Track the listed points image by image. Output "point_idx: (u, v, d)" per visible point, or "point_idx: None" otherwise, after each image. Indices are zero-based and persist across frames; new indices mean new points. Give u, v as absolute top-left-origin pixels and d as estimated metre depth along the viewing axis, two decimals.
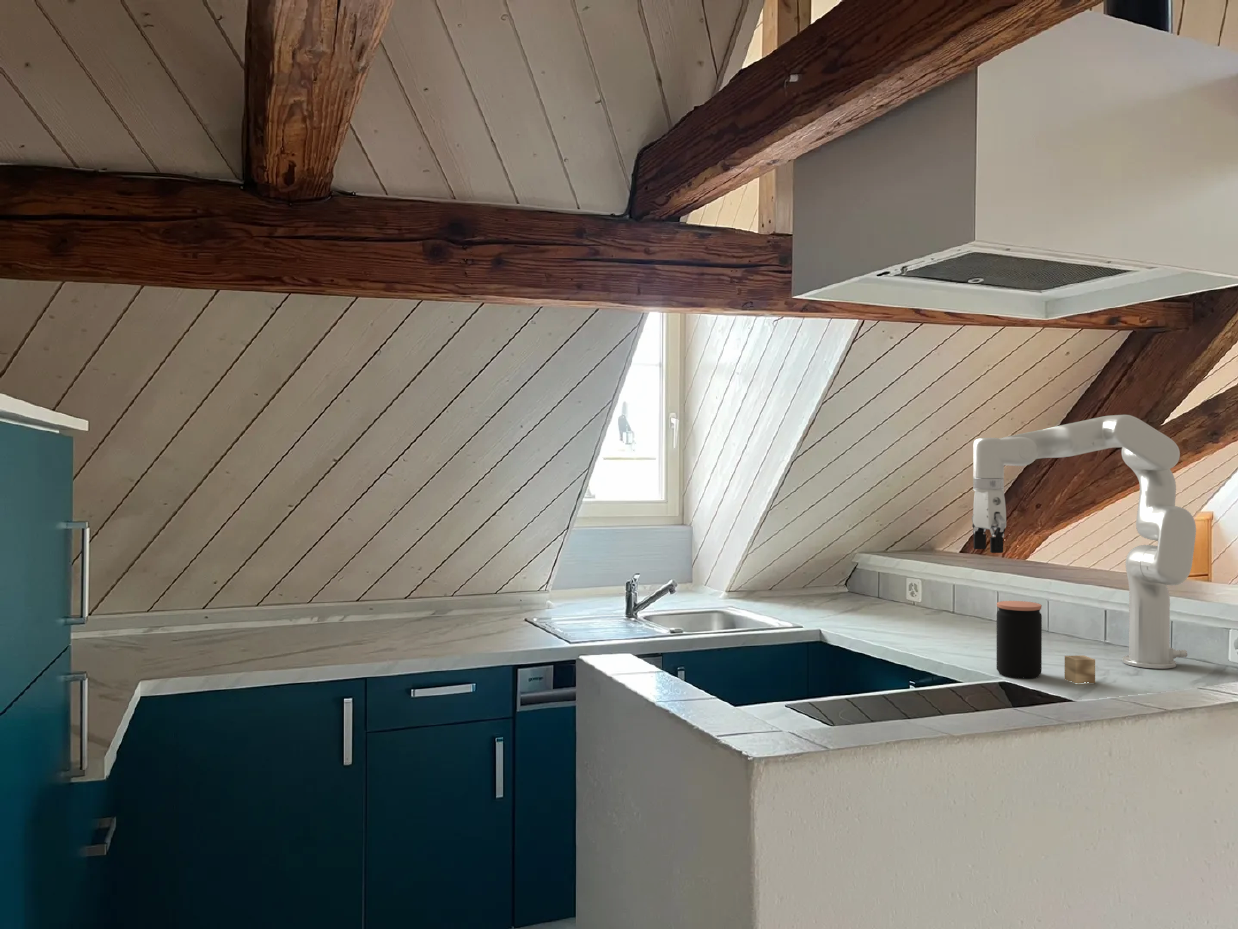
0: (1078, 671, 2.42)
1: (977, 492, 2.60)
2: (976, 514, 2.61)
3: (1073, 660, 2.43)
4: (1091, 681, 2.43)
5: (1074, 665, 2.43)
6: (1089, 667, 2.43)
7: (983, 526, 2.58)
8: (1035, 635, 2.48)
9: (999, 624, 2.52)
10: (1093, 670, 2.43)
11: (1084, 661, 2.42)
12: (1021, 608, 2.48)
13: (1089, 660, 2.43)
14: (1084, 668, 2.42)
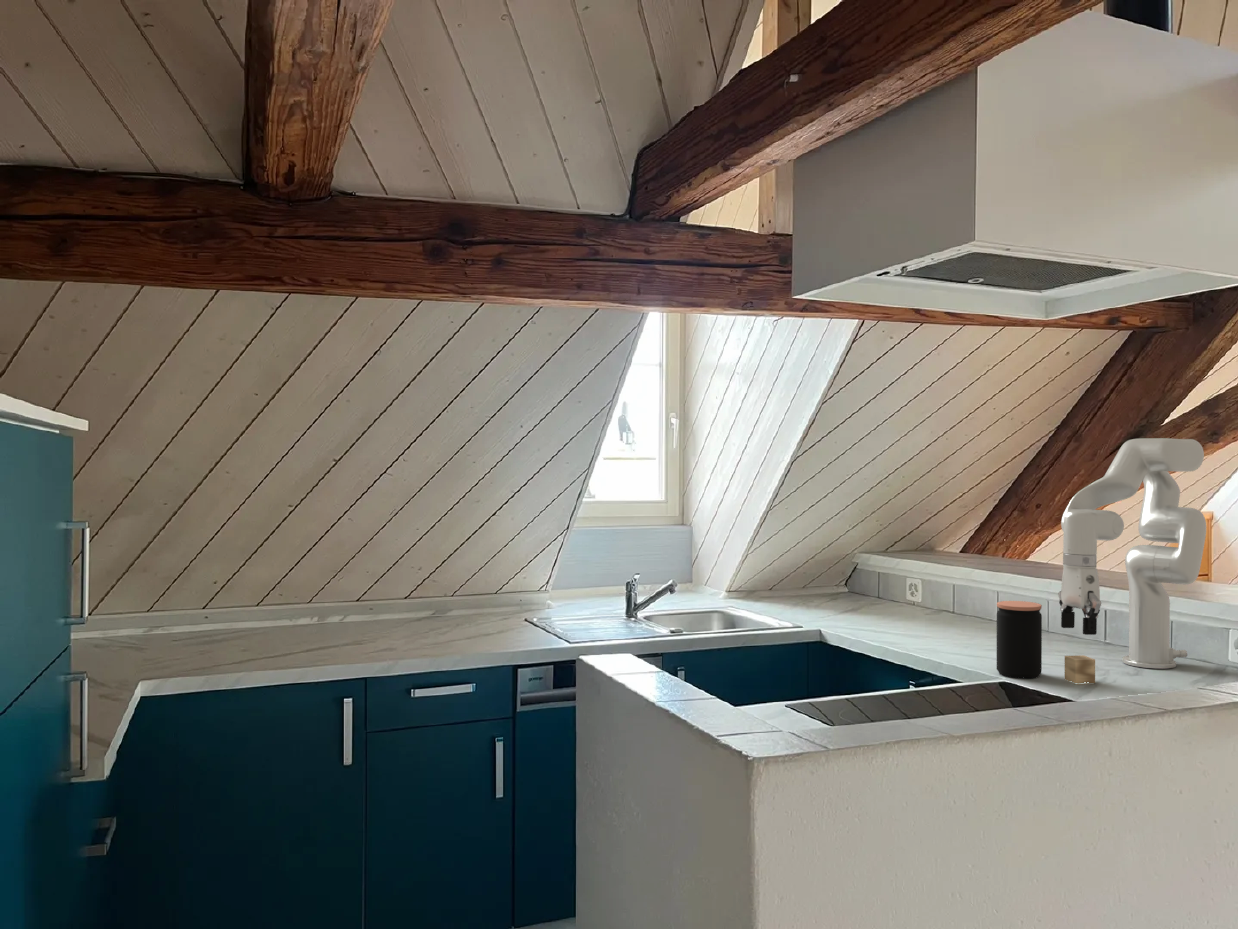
0: (1078, 671, 2.42)
1: (1067, 568, 2.45)
2: (1066, 591, 2.46)
3: (1073, 660, 2.43)
4: (1091, 681, 2.43)
5: (1074, 665, 2.43)
6: (1089, 667, 2.43)
7: (1074, 605, 2.43)
8: (1035, 635, 2.48)
9: (999, 624, 2.52)
10: (1093, 670, 2.43)
11: (1084, 661, 2.42)
12: (1021, 608, 2.48)
13: (1089, 660, 2.43)
14: (1084, 668, 2.42)
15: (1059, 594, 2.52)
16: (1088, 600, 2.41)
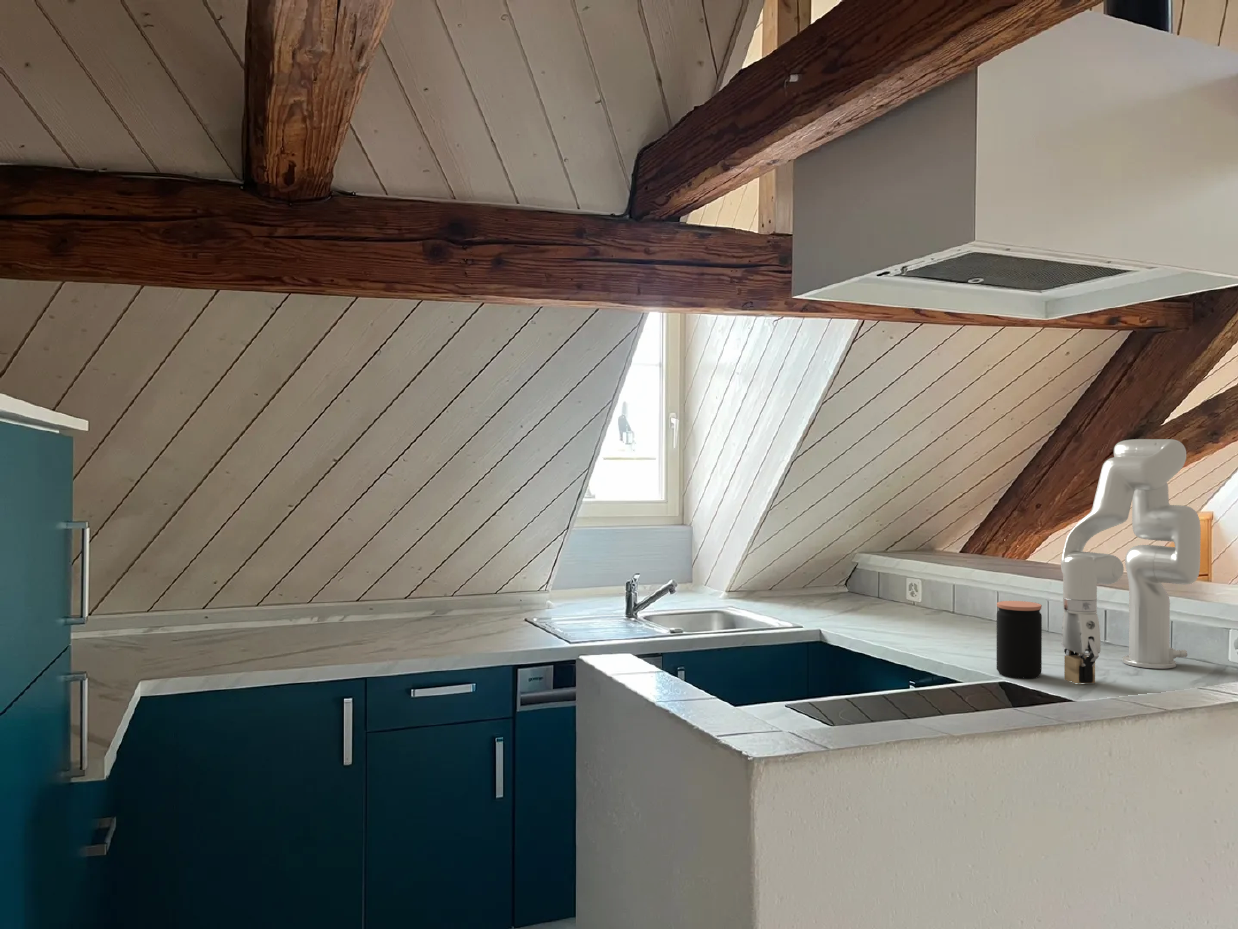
0: (1078, 671, 2.42)
1: (1067, 613, 2.46)
2: (1067, 636, 2.46)
3: (1073, 660, 2.43)
4: None
5: (1074, 665, 2.43)
6: None
7: (1075, 650, 2.43)
8: (1035, 635, 2.48)
9: (999, 624, 2.52)
10: (1093, 670, 2.43)
11: None
12: (1021, 608, 2.48)
13: None
14: None
15: (1062, 644, 2.52)
16: (1088, 647, 2.42)
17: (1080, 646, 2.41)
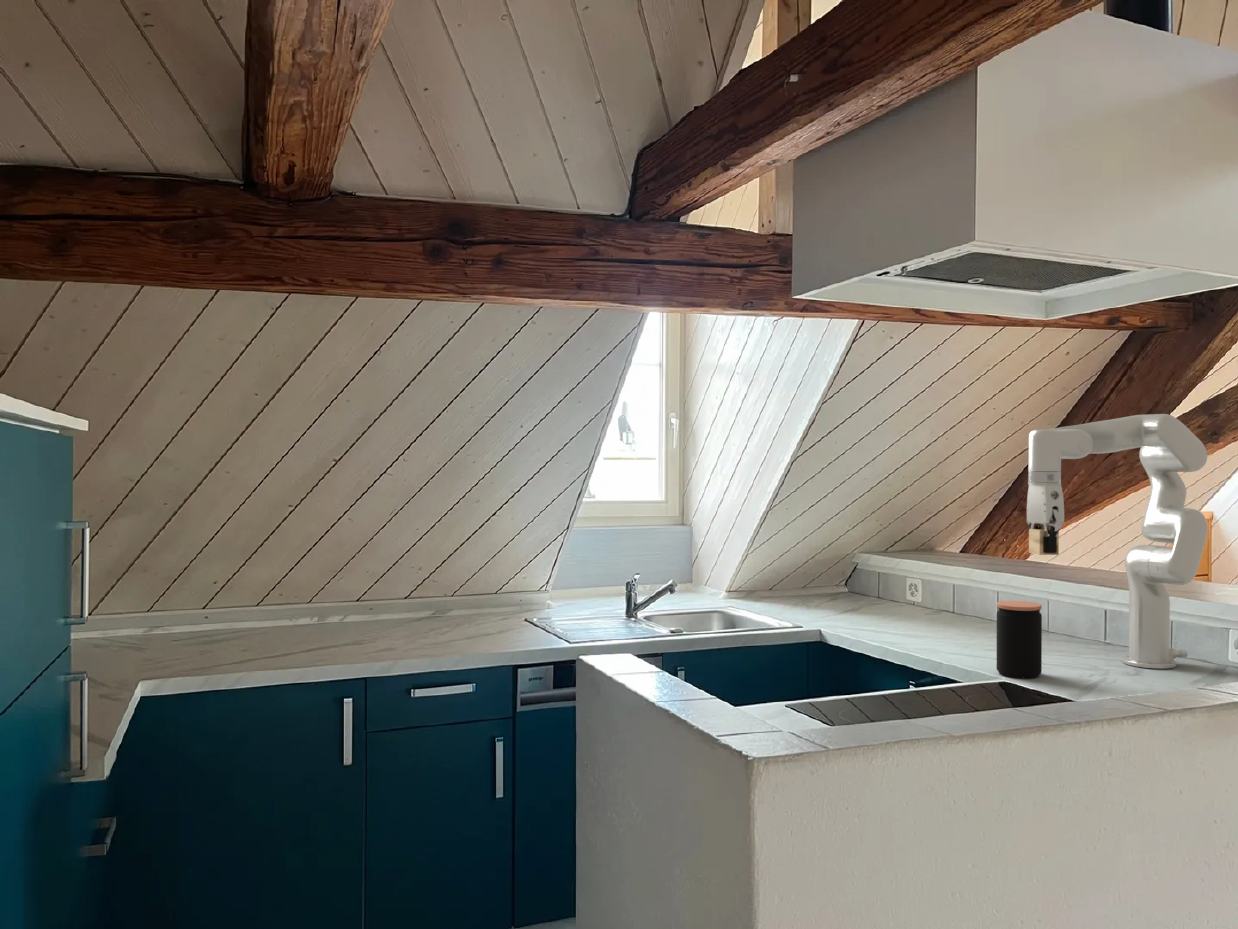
0: (1042, 541, 2.46)
1: (1032, 486, 2.50)
2: (1031, 509, 2.50)
3: (1037, 531, 2.47)
4: None
5: (1039, 536, 2.47)
6: None
7: (1039, 521, 2.47)
8: (1035, 635, 2.48)
9: (999, 624, 2.52)
10: (1057, 541, 2.47)
11: None
12: (1021, 608, 2.48)
13: None
14: None
15: (1027, 520, 2.56)
16: (1052, 518, 2.46)
17: (1044, 516, 2.45)
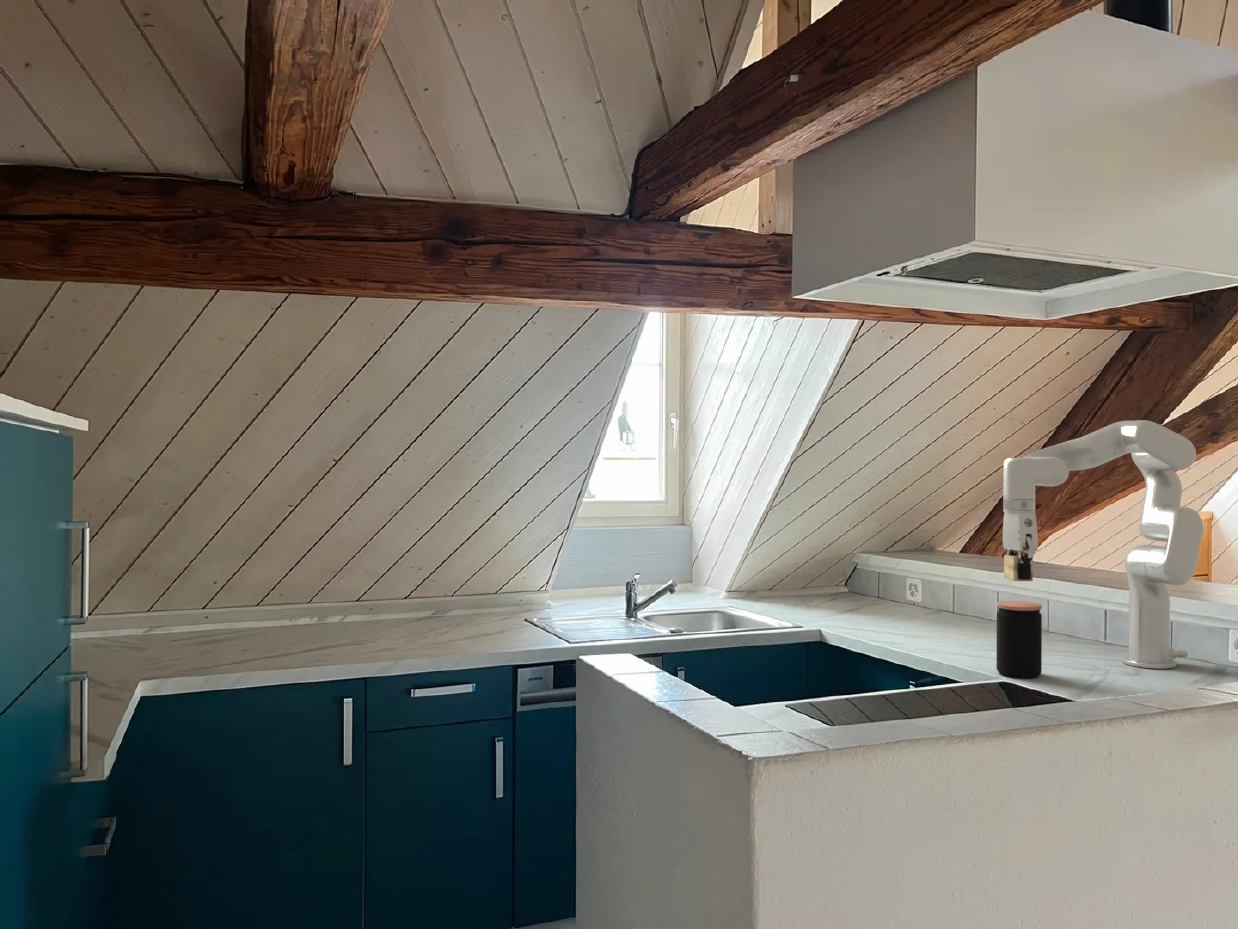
0: (1016, 568, 2.50)
1: (1007, 513, 2.53)
2: (1006, 535, 2.54)
3: (1011, 558, 2.51)
4: None
5: (1013, 562, 2.50)
6: None
7: (1014, 548, 2.51)
8: (1035, 635, 2.48)
9: (999, 624, 2.52)
10: (1031, 567, 2.50)
11: None
12: (1021, 608, 2.48)
13: None
14: None
15: (1004, 546, 2.59)
16: (1026, 545, 2.50)
17: (1018, 543, 2.48)
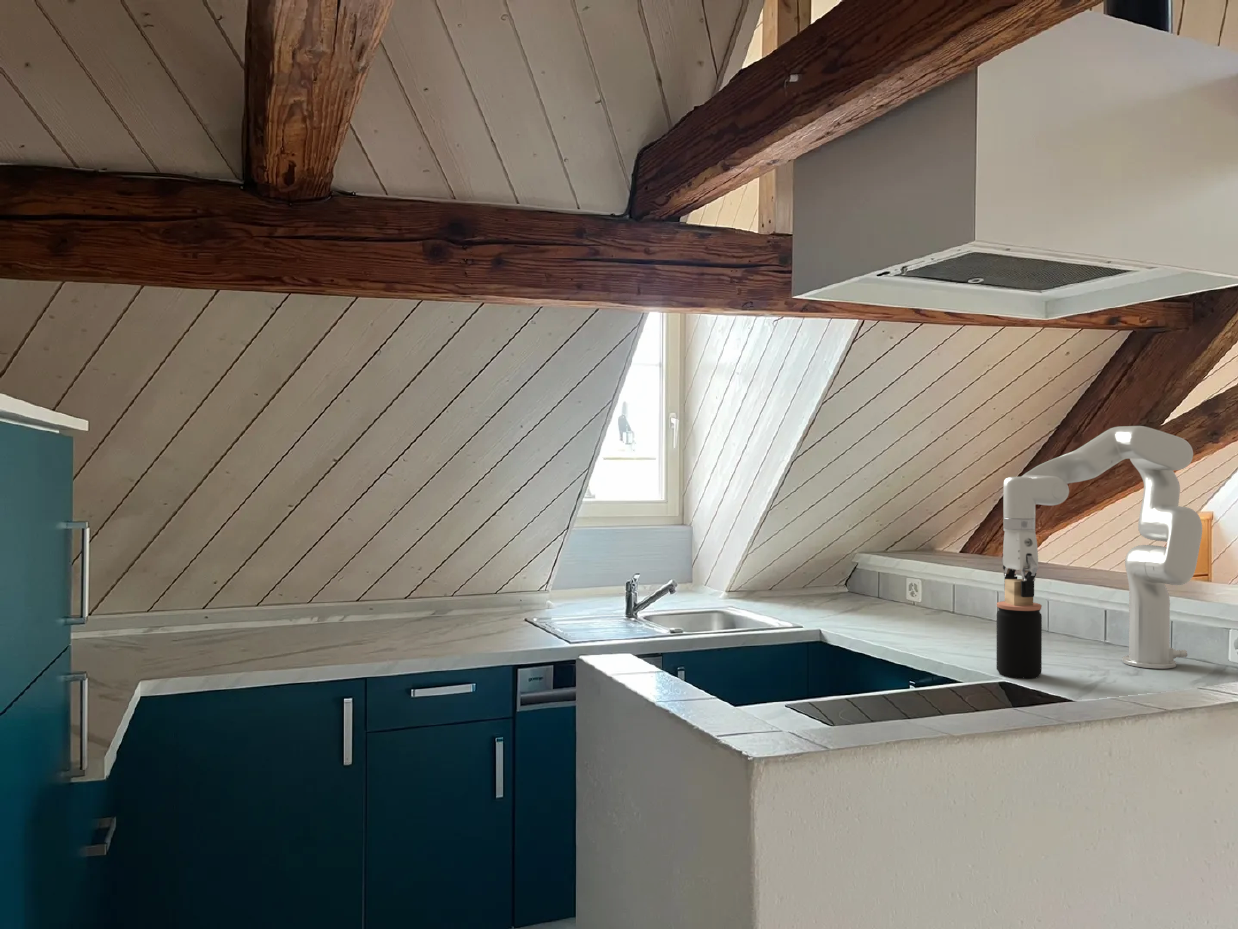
0: (1017, 592, 2.50)
1: (1007, 532, 2.53)
2: (1007, 555, 2.54)
3: (1012, 582, 2.51)
4: (1029, 602, 2.51)
5: (1013, 587, 2.50)
6: None
7: (1014, 568, 2.51)
8: (1035, 635, 2.48)
9: (999, 624, 2.52)
10: None
11: None
12: (1021, 608, 2.48)
13: None
14: None
15: (1002, 560, 2.60)
16: (1027, 563, 2.50)
17: (1018, 563, 2.49)
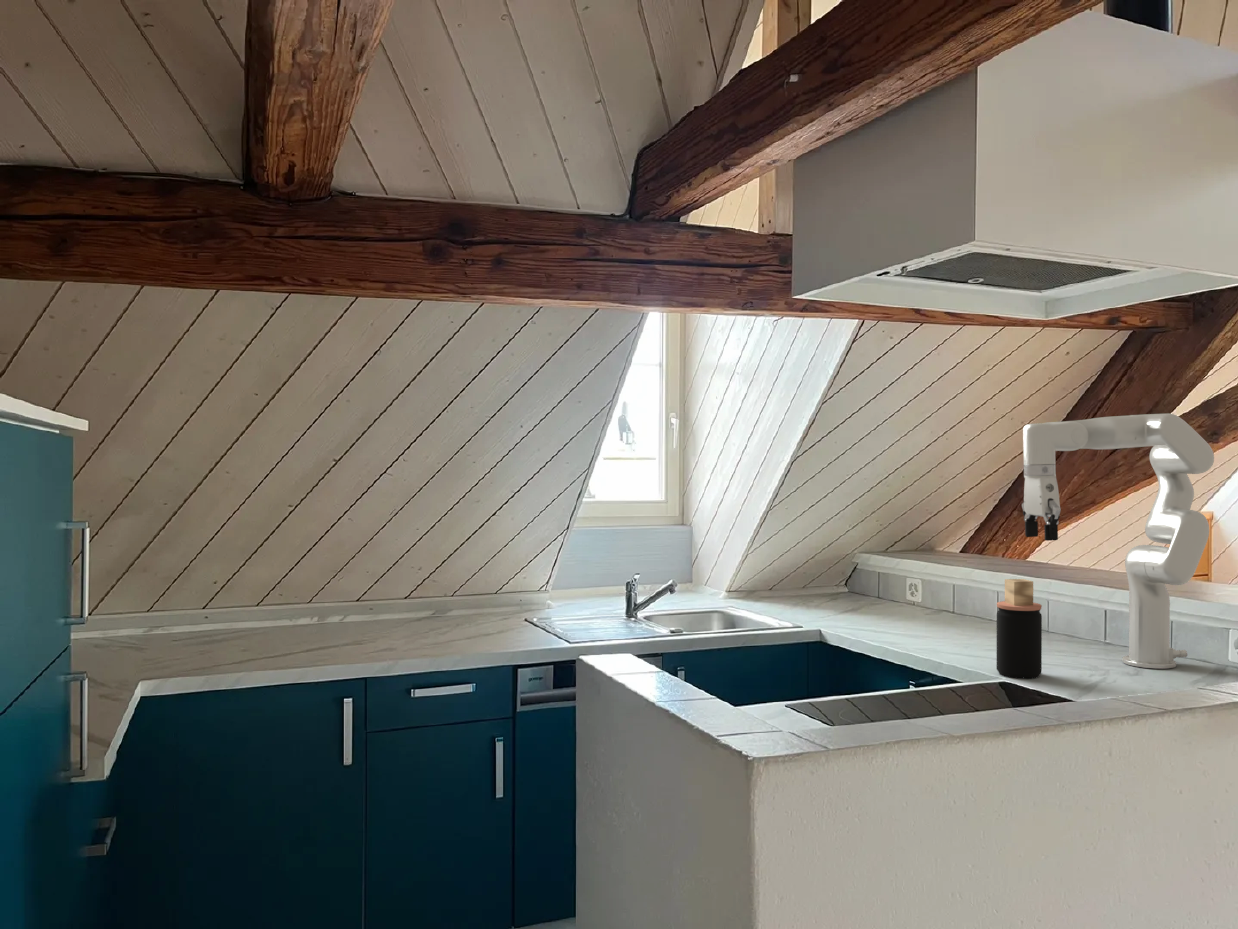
0: (1017, 592, 2.50)
1: (1028, 479, 2.55)
2: (1028, 501, 2.56)
3: (1012, 582, 2.51)
4: (1029, 602, 2.51)
5: (1013, 587, 2.50)
6: (1028, 589, 2.50)
7: (1036, 513, 2.53)
8: (1035, 635, 2.48)
9: (999, 624, 2.52)
10: (1031, 592, 2.51)
11: (1022, 583, 2.50)
12: (1021, 608, 2.48)
13: (1027, 582, 2.50)
14: (1022, 589, 2.50)
15: (1022, 505, 2.63)
16: (1049, 508, 2.51)
17: (1040, 508, 2.50)
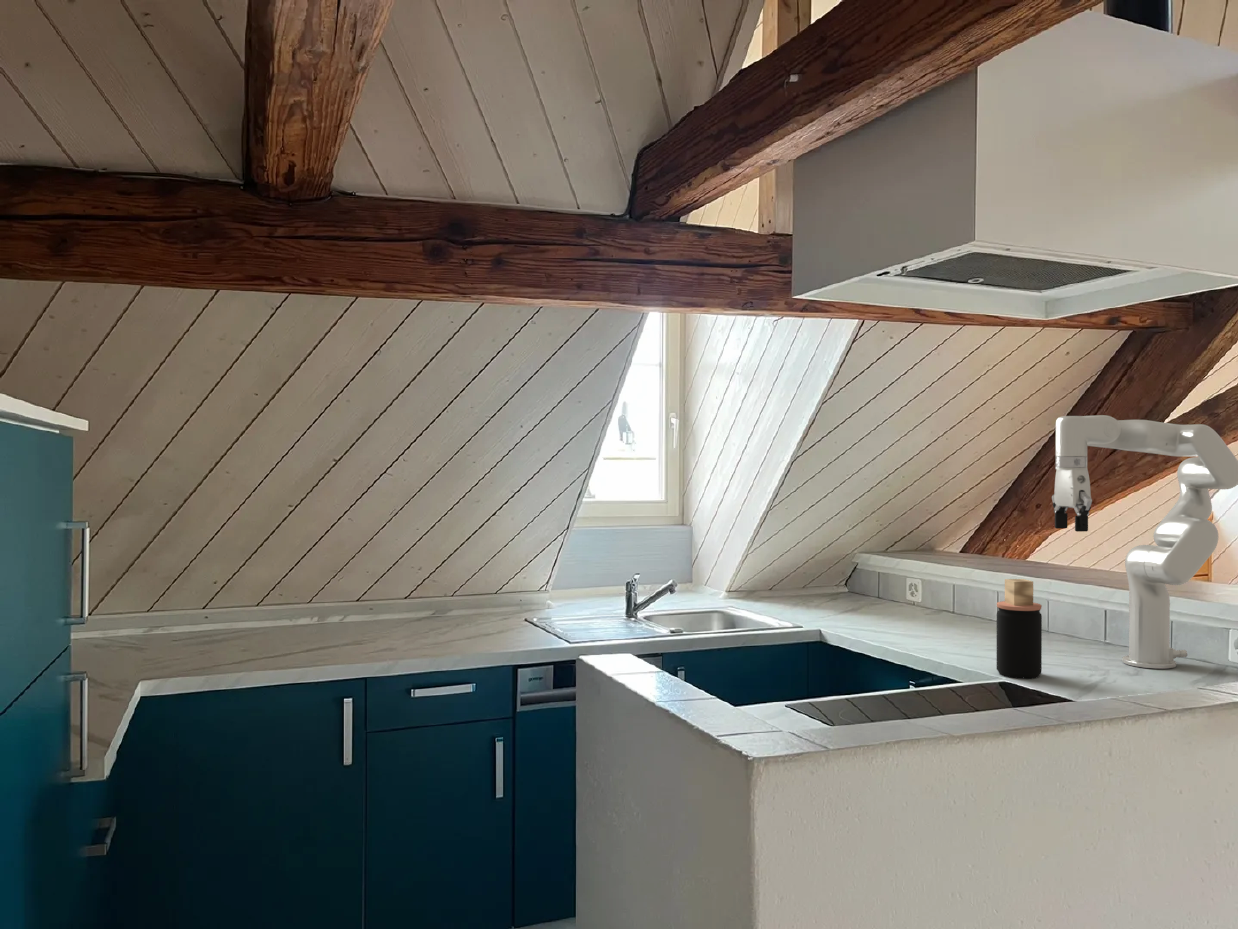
0: (1017, 592, 2.50)
1: (1060, 471, 2.58)
2: (1059, 493, 2.59)
3: (1012, 582, 2.51)
4: (1029, 602, 2.51)
5: (1013, 587, 2.50)
6: (1028, 589, 2.50)
7: (1067, 505, 2.56)
8: (1035, 635, 2.48)
9: (999, 624, 2.52)
10: (1031, 592, 2.51)
11: (1022, 583, 2.50)
12: (1021, 608, 2.48)
13: (1027, 582, 2.50)
14: (1022, 589, 2.50)
15: (1052, 497, 2.66)
16: (1080, 499, 2.55)
17: (1071, 500, 2.54)
